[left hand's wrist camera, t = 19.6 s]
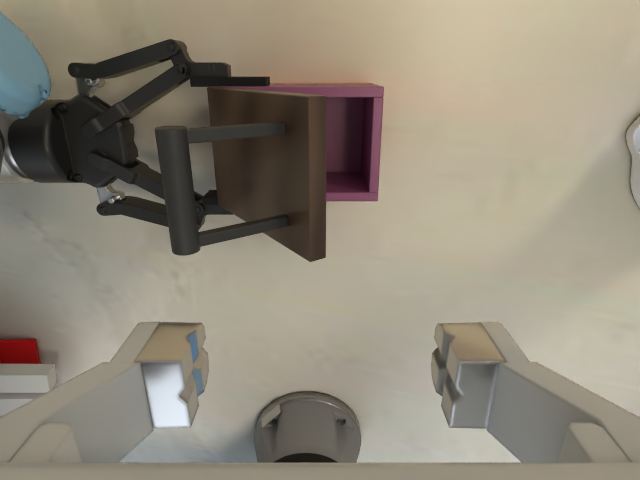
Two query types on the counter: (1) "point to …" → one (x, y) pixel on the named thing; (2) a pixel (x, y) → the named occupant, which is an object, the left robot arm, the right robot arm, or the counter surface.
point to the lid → (253, 170)
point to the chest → (347, 135)
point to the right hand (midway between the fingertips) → (270, 142)
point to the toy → (22, 374)
